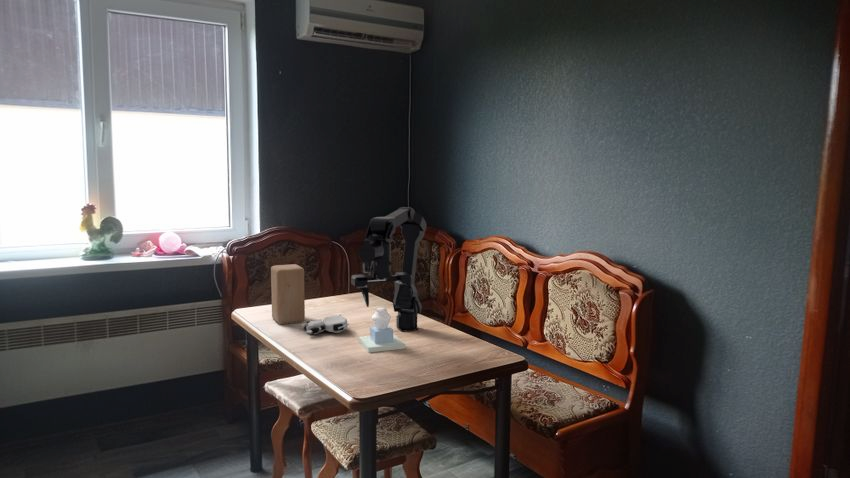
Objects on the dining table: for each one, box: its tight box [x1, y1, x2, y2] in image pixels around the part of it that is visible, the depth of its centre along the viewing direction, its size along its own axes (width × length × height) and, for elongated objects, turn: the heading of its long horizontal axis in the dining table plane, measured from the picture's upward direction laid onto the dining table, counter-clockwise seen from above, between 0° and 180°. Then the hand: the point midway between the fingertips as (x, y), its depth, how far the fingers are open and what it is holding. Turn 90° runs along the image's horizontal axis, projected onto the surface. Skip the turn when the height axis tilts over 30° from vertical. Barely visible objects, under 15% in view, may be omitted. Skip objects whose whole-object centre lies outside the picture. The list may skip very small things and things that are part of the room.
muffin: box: [371, 306, 392, 330], centre depth 201 cm, size 6×6×7 cm
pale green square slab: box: [358, 333, 406, 353], centre depth 202 cm, size 12×12×2 cm
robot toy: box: [301, 314, 350, 335], centre depth 216 cm, size 12×4×15 cm
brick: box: [369, 325, 394, 344], centre depth 202 cm, size 6×6×4 cm
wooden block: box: [270, 263, 306, 325], centre depth 229 cm, size 10×10×20 cm
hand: (381, 305), depth 201 cm, fingers open, 9 cm apart
